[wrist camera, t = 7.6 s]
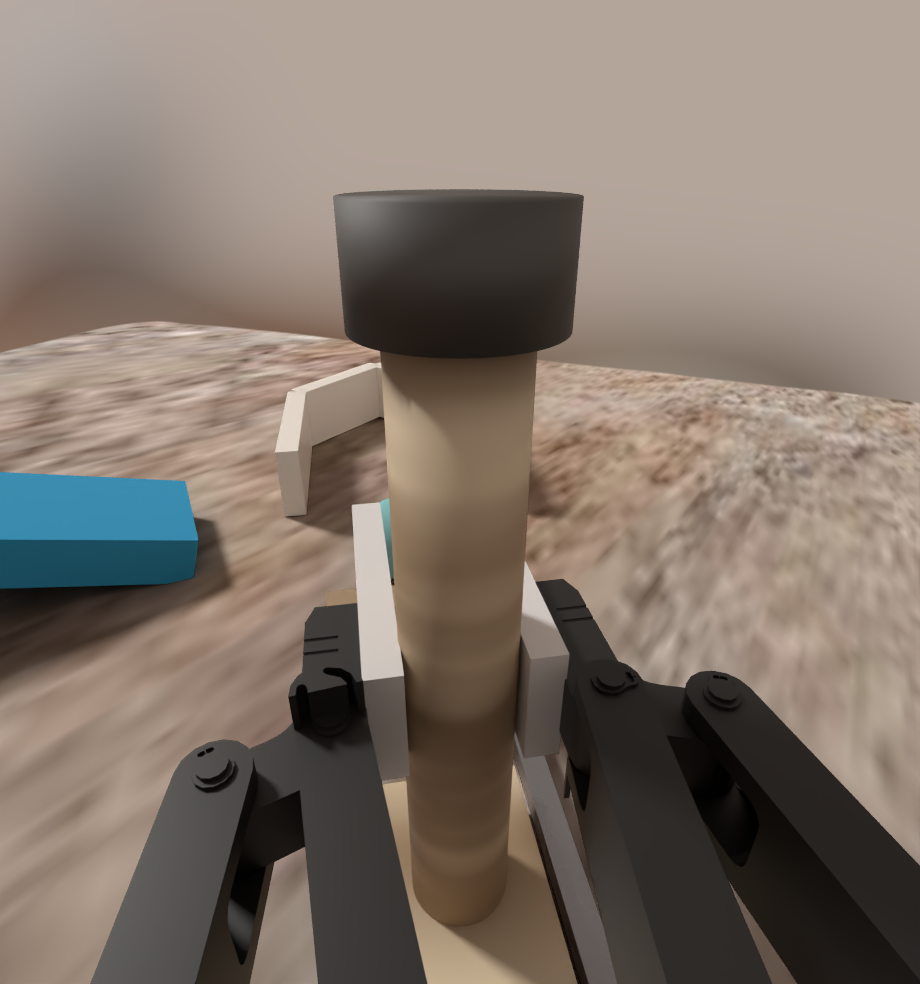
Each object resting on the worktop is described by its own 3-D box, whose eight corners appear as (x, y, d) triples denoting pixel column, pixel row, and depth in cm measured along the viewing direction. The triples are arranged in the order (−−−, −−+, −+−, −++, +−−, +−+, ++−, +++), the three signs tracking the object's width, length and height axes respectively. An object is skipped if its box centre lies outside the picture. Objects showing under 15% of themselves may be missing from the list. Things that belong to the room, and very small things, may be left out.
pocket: (497, 498, 38) (499, 437, 36) (284, 516, 36) (275, 452, 34) (454, 406, 51) (454, 358, 50) (299, 415, 50) (293, 366, 48)
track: (696, 1231, 12) (703, 1217, 12) (322, 1334, 11) (317, 1322, 11) (492, 622, 28) (493, 607, 27) (331, 640, 27) (329, 625, 26)
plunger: (615, 1020, 15) (810, 207, 7) (338, 1080, 14) (158, 216, 6) (500, 662, 25) (519, 175, 17) (338, 681, 24) (275, 177, 16)
